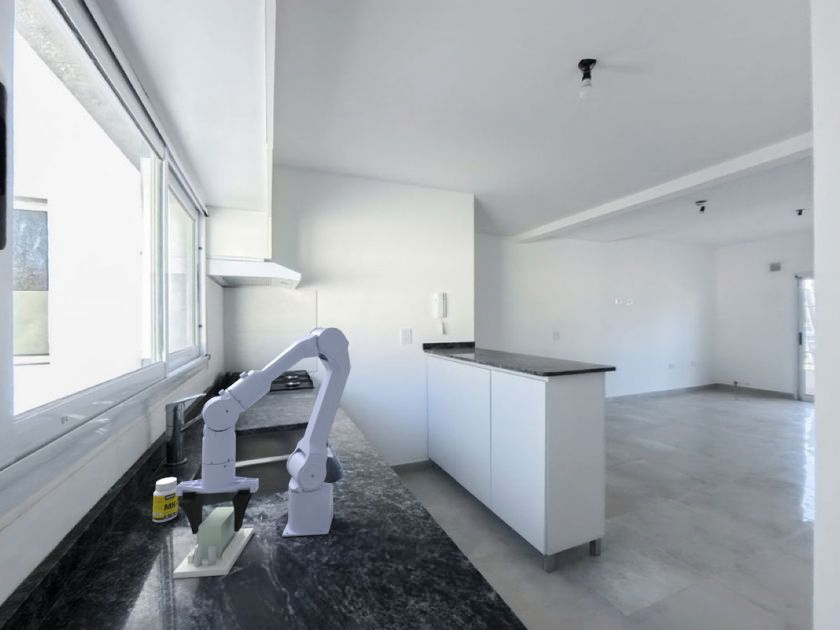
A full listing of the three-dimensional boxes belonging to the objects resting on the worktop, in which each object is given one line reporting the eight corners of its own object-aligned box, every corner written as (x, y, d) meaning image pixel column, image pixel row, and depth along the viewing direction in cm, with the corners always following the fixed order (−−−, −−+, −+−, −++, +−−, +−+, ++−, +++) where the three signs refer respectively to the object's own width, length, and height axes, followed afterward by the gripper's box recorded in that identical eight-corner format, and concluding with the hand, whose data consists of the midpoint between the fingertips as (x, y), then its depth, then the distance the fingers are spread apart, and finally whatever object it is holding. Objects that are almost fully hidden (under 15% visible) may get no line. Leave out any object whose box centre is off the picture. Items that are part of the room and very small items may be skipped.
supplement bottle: (164, 524, 79) (165, 486, 80) (147, 522, 80) (148, 484, 81) (182, 513, 84) (183, 477, 84) (166, 511, 85) (167, 475, 85)
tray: (253, 532, 76) (253, 513, 76) (226, 574, 63) (227, 551, 63) (209, 535, 75) (209, 515, 75) (172, 578, 62) (173, 554, 62)
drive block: (236, 536, 73) (236, 506, 73) (220, 558, 66) (221, 525, 66) (215, 537, 73) (216, 507, 73) (197, 559, 66) (198, 526, 66)
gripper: (264, 450, 74) (263, 517, 74) (190, 453, 73) (189, 520, 72) (251, 463, 67) (250, 536, 67) (170, 466, 66) (168, 541, 65)
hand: (217, 530), depth 69 cm, fingers open, 7 cm apart
